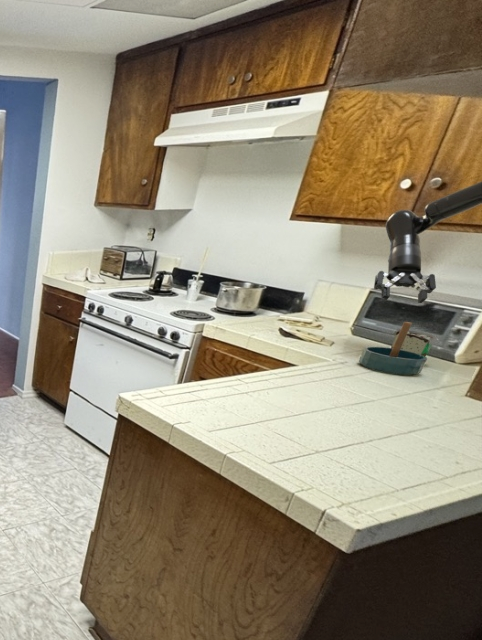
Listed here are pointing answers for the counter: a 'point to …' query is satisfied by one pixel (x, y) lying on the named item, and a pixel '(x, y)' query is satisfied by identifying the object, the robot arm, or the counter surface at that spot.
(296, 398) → the counter surface
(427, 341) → the sandwich
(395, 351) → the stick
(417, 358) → the bowl
